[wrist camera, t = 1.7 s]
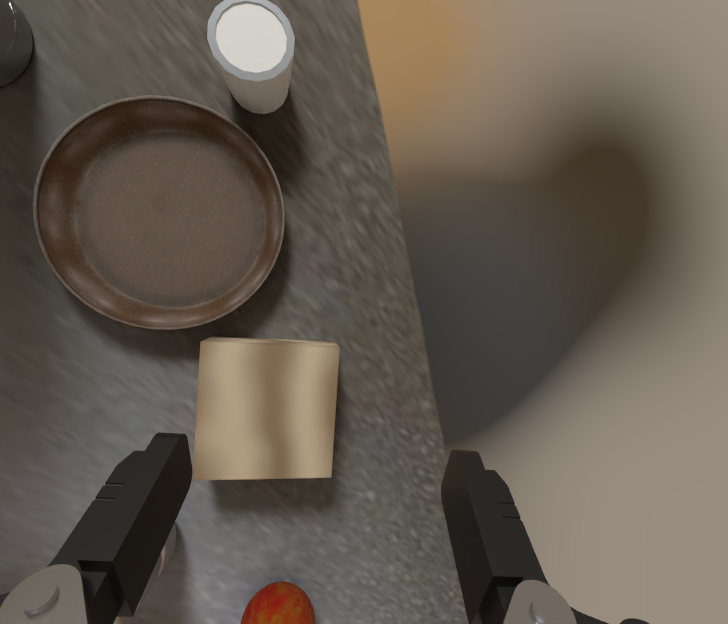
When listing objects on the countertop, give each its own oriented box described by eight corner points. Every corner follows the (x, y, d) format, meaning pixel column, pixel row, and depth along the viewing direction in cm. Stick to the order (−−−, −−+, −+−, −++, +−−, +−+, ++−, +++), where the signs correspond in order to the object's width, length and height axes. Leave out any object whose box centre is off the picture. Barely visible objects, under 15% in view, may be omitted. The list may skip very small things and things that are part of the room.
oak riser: (205, 456, 38) (192, 480, 33) (212, 336, 37) (200, 341, 32) (326, 455, 40) (331, 477, 35) (333, 341, 40) (339, 347, 35)
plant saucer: (50, 102, 34) (25, 81, 31) (283, 120, 38) (282, 103, 35) (59, 329, 35) (35, 332, 32) (286, 324, 39) (286, 327, 36)
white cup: (271, 38, 37) (267, -21, 31) (307, 102, 38) (310, 59, 31) (208, 66, 36) (189, 12, 30) (246, 132, 37) (236, 94, 30)
